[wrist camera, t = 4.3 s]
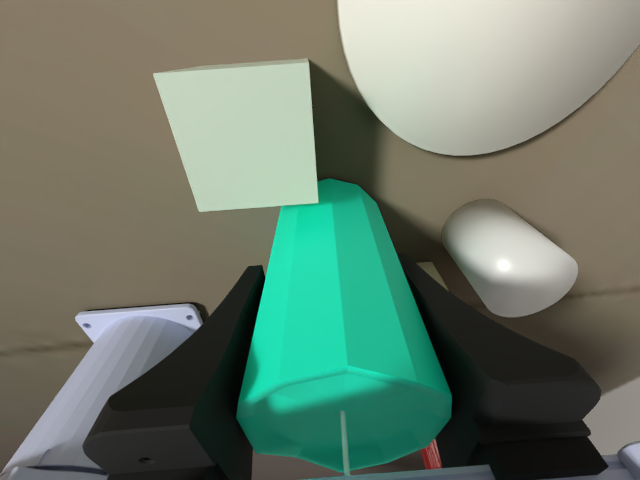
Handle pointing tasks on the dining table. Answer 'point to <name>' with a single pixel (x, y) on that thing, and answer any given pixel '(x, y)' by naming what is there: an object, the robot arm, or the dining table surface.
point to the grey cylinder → (507, 259)
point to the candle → (340, 343)
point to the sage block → (244, 132)
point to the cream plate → (482, 64)
